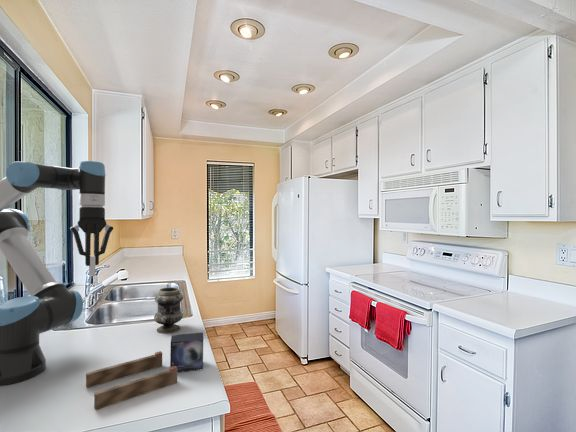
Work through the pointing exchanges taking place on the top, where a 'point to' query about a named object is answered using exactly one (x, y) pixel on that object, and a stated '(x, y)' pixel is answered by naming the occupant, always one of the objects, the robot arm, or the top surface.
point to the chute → (131, 387)
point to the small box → (187, 351)
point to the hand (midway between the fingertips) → (92, 274)
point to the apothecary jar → (168, 309)
